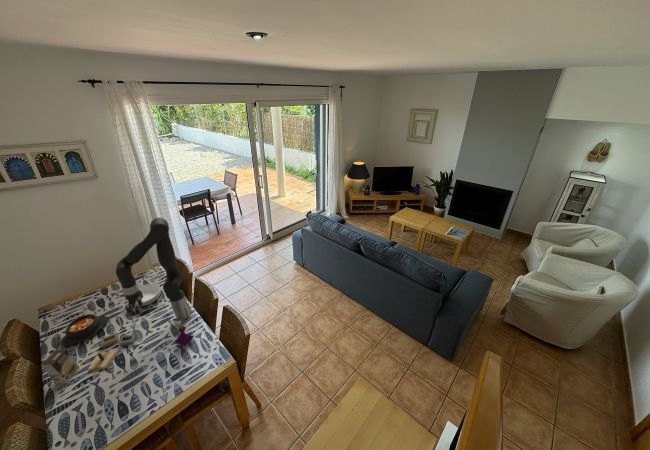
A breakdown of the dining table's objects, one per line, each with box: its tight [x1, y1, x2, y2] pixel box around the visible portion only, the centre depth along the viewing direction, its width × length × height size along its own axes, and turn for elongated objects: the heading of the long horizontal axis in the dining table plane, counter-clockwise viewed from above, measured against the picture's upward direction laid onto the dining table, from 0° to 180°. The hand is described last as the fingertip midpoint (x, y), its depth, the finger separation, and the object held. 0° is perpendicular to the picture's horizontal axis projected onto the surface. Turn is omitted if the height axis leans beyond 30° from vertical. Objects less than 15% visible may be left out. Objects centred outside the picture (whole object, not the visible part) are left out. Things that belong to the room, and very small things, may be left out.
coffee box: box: [40, 348, 80, 385], centre depth 141 cm, size 9×6×16 cm
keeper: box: [87, 350, 118, 371], centre depth 151 cm, size 10×10×6 cm
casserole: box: [60, 313, 110, 347], centre depth 168 cm, size 25×19×8 cm
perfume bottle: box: [174, 320, 194, 347], centre depth 159 cm, size 8×8×18 cm
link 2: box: [117, 333, 138, 347], centre depth 163 cm, size 8×5×3 cm
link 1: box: [100, 332, 120, 348], centre depth 163 cm, size 8×5×3 cm
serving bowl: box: [136, 283, 162, 307], centre depth 195 cm, size 21×21×7 cm
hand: (137, 310), depth 164 cm, fingers open, 8 cm apart
